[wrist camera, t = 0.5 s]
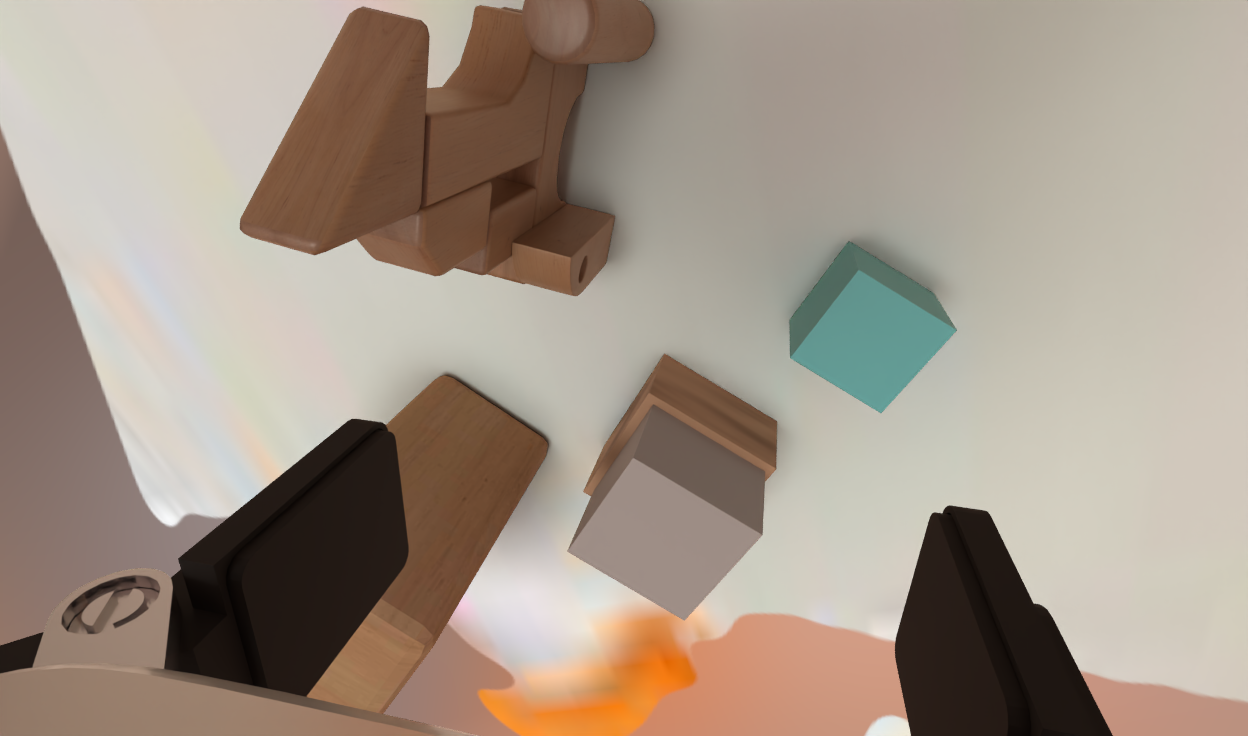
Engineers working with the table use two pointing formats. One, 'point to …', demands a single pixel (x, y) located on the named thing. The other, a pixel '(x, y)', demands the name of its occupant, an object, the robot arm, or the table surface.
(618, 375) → the table surface
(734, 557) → the tower mid
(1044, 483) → the table surface
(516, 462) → the wooden block
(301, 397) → the table surface
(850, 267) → the teal cube
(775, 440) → the tower base
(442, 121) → the wooden toy
